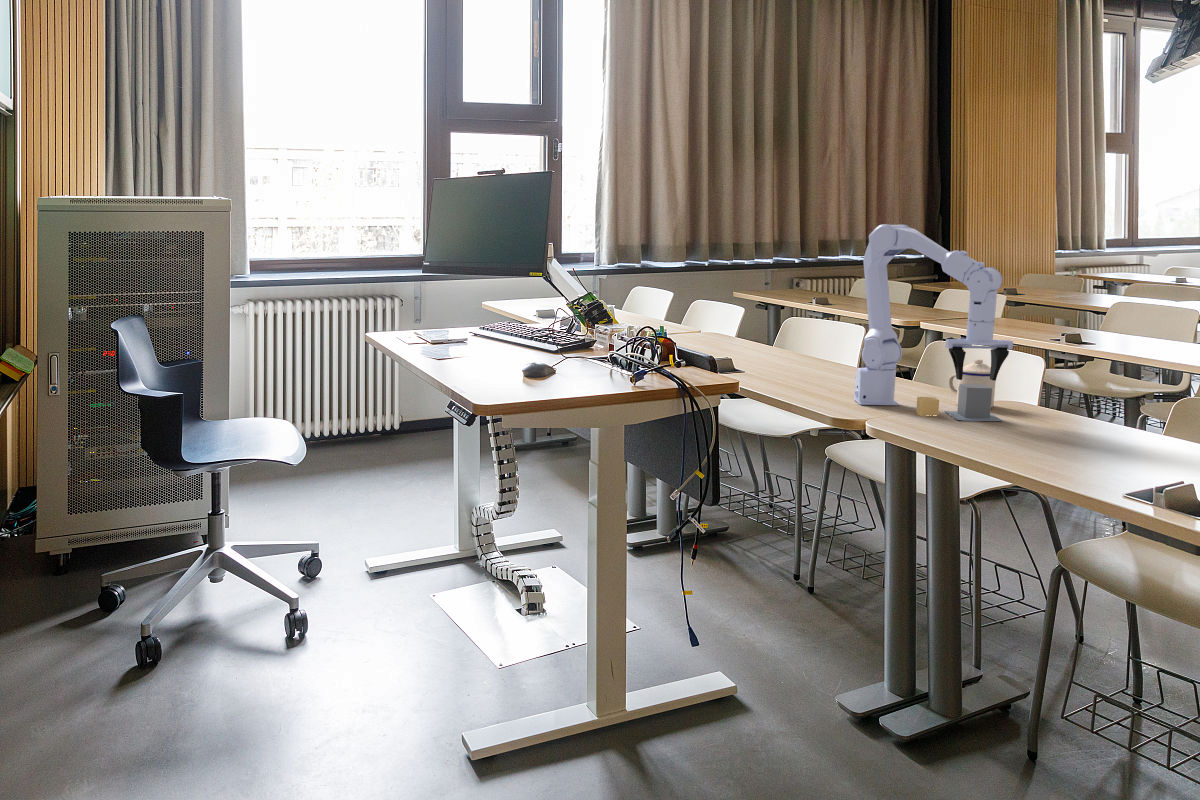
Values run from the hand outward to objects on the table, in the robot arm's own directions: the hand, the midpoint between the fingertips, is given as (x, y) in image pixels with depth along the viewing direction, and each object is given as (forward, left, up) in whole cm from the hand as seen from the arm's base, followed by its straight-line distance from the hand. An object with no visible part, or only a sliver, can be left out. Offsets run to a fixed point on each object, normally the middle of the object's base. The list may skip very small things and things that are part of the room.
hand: (975, 379), depth 218 cm
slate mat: (0, 0, -9) cm, 9 cm away
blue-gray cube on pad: (0, 0, -8) cm, 9 cm away
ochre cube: (-10, +2, -9) cm, 14 cm away
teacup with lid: (+4, +16, -9) cm, 19 cm away
